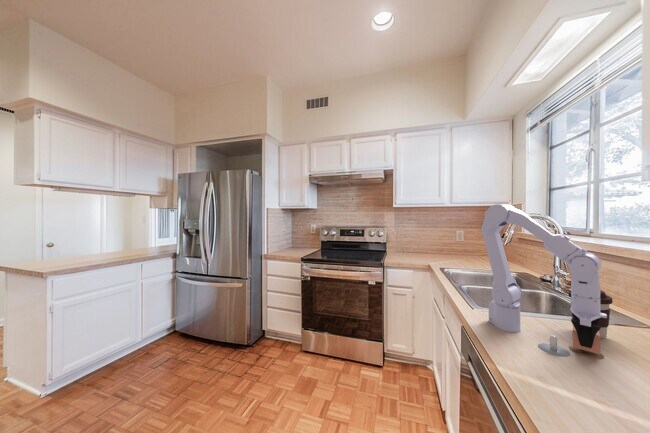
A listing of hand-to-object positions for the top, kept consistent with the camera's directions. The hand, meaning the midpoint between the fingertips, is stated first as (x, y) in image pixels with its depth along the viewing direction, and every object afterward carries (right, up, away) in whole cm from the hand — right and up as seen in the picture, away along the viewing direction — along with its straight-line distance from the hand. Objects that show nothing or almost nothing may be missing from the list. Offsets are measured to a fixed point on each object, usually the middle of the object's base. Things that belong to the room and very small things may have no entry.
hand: (585, 342), depth 70 cm
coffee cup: (+13, -3, +11) cm, 18 cm away
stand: (-8, -4, +1) cm, 9 cm away
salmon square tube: (0, -1, 0) cm, 1 cm away
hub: (0, -3, 0) cm, 3 cm away
